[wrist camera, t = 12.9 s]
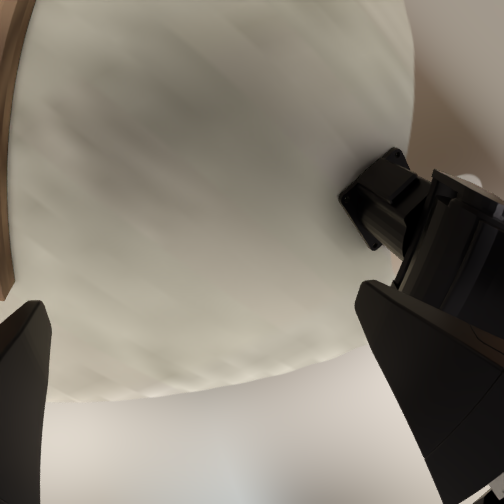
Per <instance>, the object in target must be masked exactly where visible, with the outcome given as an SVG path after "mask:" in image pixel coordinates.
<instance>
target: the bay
mask: <svg viewBox="0 0 504 504" xmlns="http://www.w3.org/2000/svg"><path fill="white" fill-rule="evenodd" d="M35 1H36V0H0V301H5V299H6V297H7V295H8V293H9V291H10V290H11V288H12V286H13V284H14V282H15V279H14V272H13V265H12V257H11V249H10V239H9V227H8V211H7V151H8V135H9V123H10V114H11V106H12V98H13V91H14V85H15V79H16V74H17V69H18V64H19V59H20V54H21V50H22V46H23V42H24V38H25V34H26V30H27V27H28V23H29V20H30V17H31V13H32V10H33V7H34V4H35Z"/></svg>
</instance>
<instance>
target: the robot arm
mask: <svg viewBox="0 0 504 504" xmlns="http://www.w3.org/2000/svg"><path fill="white" fill-rule="evenodd" d="M396 152H397V155H396V156H395V153H396ZM432 177H433V179H432V182H430V181H428V180H425V179H424V178H422V177H419V176H418V175H417V174H416V173H414V172H412V171H410V168H409V166H408V164H407V162H406V159H405V157H404V155H403V153H402V151H401V150H400V149H398V148H392V149H391V150H390V151H389V152H388V153H386V154H385V155H384V156H383V157H382V158H380V159H379V160H378V161H376V162H375V163H374V164H373V165H372V166H371V167H370V168H368V169H367V170H366V171H365V172H364V173H363V174H362V175H360V176H359V177H358V179H357V180H356V181H355V182H353V183H352V184H351V185H350V186H349V187H348V188H347V189H345V190H344V191H343V192H342V193H341V194H340V195H339V202H340V204H341V205H342V207H343V208H344V210H345V211H346V213H347V214H348V216H349V217H350V219H351V220H352V222H353V224H354V225H355V227H356V228H357V230H358V231H359V233H360V234H361V236H362V238H363V239H364V241H365V242H366V244H367V246H368V247H369V248H370V249H371V250H372V251H375V250H377V249H378V248H379V247H380V246H381V245H382V244H383V245H384V246H386V247H387V248H388V249H389V250H390V251H391V252H393V253H394V254H395V255H396V256H398V258H400V259H401V260H402V261H403V262H402V264H401V266H400V269H399V271H398V273H397V276H396V278H395V280H393V282H392V284H391V286H388V285H385V284H383V283H381V282H379V281H377V280H367V281H363V282H362V283H361V285H360V288H359V291H358V294H357V297H356V300H355V311H356V314H357V316H358V318H359V321H360V323H361V326H362V328H363V331H364V333H365V336H366V338H367V341H368V343H369V345H370V348H371V350H372V352H373V354H374V356H375V358H376V360H377V362H378V364H379V366H380V368H381V369H382V372H383V374H384V375H385V378H386V380H387V381H388V383H389V386H390V387H391V390H392V392H393V394H394V396H395V398H396V400H397V401H398V403H399V406H400V408H401V410H402V412H403V414H404V416H405V418H406V420H407V422H408V425H409V427H410V429H411V431H412V433H413V435H414V437H415V440H416V442H417V444H418V446H419V448H420V450H421V453H422V455H423V457H424V458H425V462H426V464H427V467H428V469H429V471H430V473H431V476H432V478H433V481H434V483H435V485H436V488H437V490H438V492H439V495H440V497H441V500H442V502H443V504H459V503H460V502H462V501H464V500H465V499H467V498H468V497H470V496H471V495H473V494H475V493H476V492H478V491H479V490H480V489H482V488H483V487H485V486H486V485H488V484H489V486H490V487H491V488H490V489H489V490H488V491H487V492H486V493H485V494H484V495H482V496H481V497H480V498H479V499H478V500H476V501H475V502H474V503H473V504H504V201H503V200H502V199H500V198H499V197H498V196H496V195H494V194H493V193H491V192H489V191H487V190H485V189H483V188H481V187H479V186H477V185H475V184H473V183H471V182H468V181H466V180H463V179H461V178H458V177H455V176H453V175H450V174H447V173H444V172H442V171H439V170H436V169H434V170H433V174H432ZM345 197H347V199H346V200H345V201H344V198H345ZM374 243H375V244H374ZM373 244H374V245H373ZM51 336H52V328H51V323H50V321H49V318H48V315H47V312H46V309H45V306H44V304H43V302H42V301H40V300H30V301H27V302H26V303H25V304H23V305H22V306H21V307H20V308H19V309H17V310H16V311H15V312H14V313H13V314H11V315H10V316H9V317H8V318H7V319H6V320H4V321H3V322H2V323H1V324H0V504H40V459H41V441H42V428H43V418H44V409H45V401H46V394H47V386H48V375H49V359H50V347H51Z"/></svg>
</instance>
